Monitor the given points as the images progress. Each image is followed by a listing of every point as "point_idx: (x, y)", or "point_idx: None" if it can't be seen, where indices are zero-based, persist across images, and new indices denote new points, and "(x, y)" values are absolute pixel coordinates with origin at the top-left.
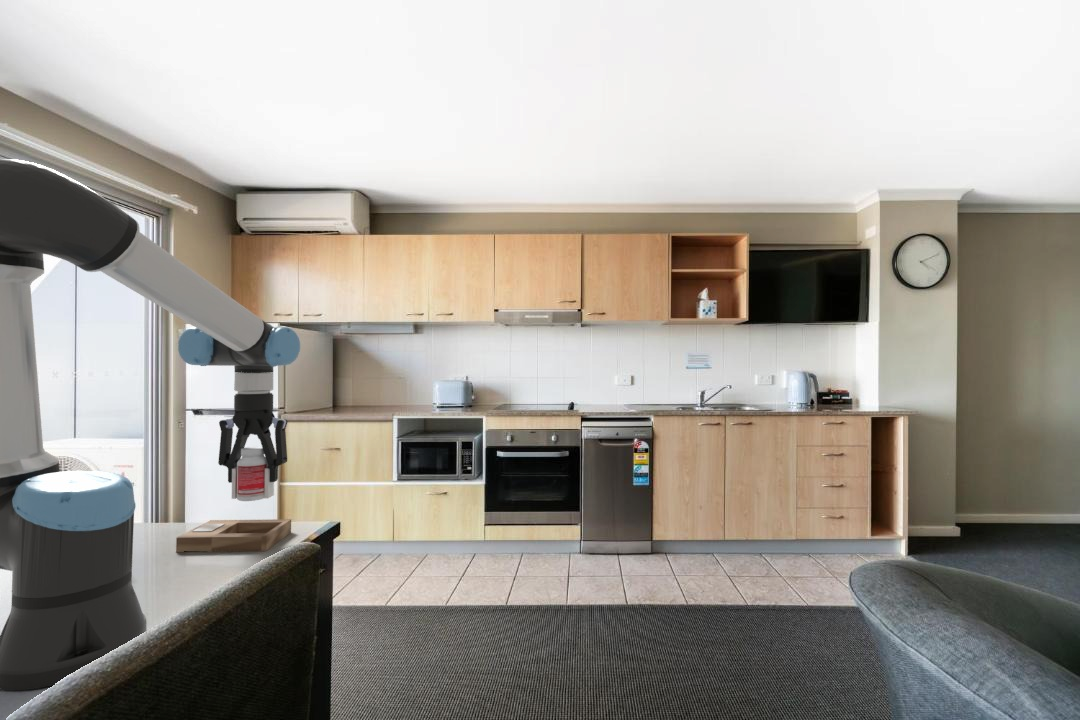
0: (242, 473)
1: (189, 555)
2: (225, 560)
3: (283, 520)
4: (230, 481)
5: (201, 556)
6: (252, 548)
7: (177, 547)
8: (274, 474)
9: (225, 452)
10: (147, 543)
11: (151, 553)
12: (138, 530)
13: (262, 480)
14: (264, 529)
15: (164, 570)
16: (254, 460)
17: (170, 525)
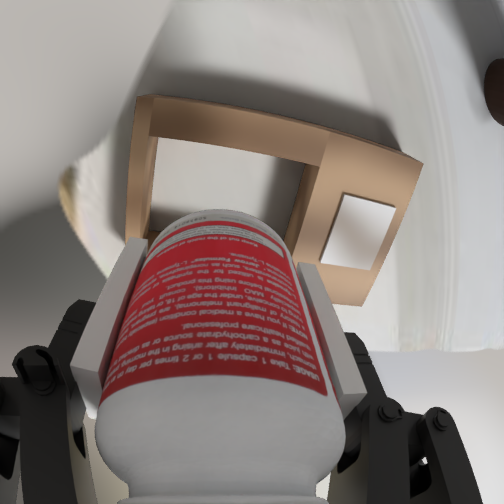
0: (271, 323)
1: (366, 112)
2: (251, 34)
3: None
4: (348, 337)
5: (332, 91)
6: (191, 99)
7: (406, 154)
8: (58, 334)
9: (443, 492)
10: (455, 240)
11: (445, 165)
12: (461, 317)
13: (133, 301)
14: None
15: (388, 17)
16: (159, 443)
17: (421, 339)
